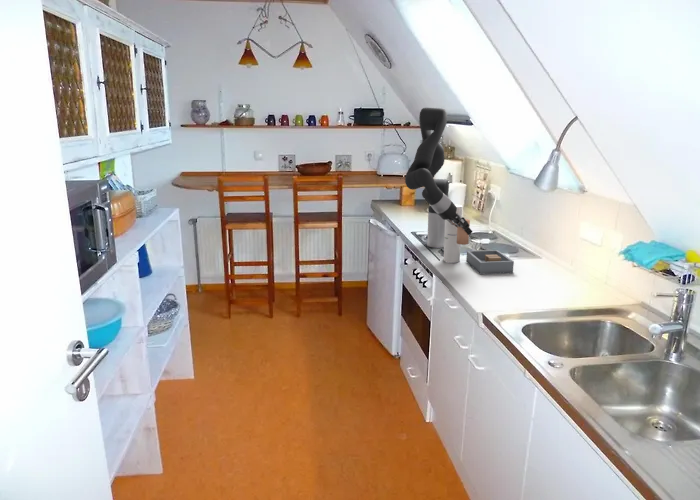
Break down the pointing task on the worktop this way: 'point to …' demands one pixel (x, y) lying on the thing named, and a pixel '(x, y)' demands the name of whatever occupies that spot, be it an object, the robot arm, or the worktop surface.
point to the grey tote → (495, 267)
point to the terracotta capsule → (462, 235)
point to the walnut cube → (492, 258)
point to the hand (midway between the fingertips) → (466, 231)
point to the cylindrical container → (452, 240)
